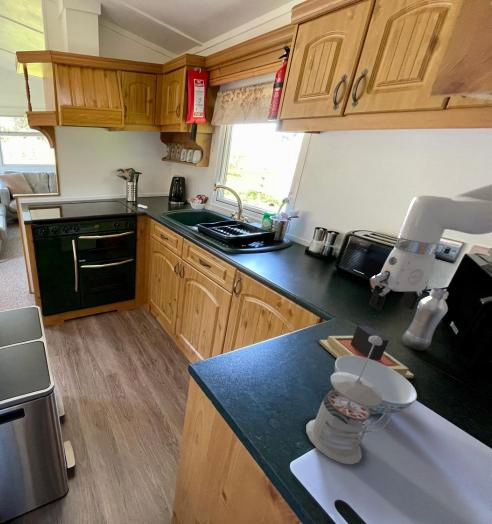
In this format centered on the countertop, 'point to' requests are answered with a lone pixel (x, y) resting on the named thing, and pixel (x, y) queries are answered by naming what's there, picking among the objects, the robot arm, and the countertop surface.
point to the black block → (367, 345)
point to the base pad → (340, 350)
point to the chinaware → (380, 382)
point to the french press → (350, 405)
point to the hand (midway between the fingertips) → (390, 307)
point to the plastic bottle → (426, 320)
